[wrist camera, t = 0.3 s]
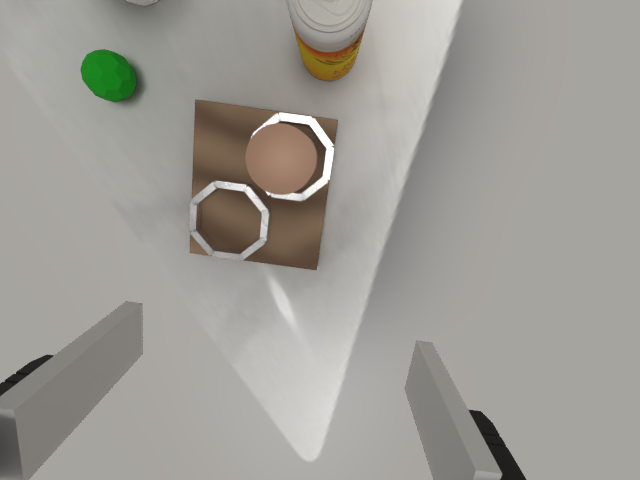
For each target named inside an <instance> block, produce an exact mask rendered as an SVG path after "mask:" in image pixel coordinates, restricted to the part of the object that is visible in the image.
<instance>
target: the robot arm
mask: <svg viewBox="0 0 640 480" xmlns="http://www.w3.org/2000/svg"><path fill="white" fill-rule="evenodd" d="M142 354H143V315H142V303H135V302H128V301H126V302H125V303H123V304H122V305H121V306H119V307H118V308H117V309H115V310H114V311H113V312H111V313H110V314H109V315H107V316H106V317H105V318H103V319H102V320H101V321H99V322H98V323H97V324H96V325H94V326H93V327H92V328H90V329H89V330H88V331H86V332H85V333H84V334H82V335H81V336H80V337H79V338H77V339H76V340H74V341H73V342H72V343H70V344H69V345H68V346H66V347H65V348H64V349H62V350H61V351H60V352H58V353H57V354H56V355H45V356H43V357H41V358H39V359H36V360H34V361H32V362H30V363H28V364H27V365H26V366H24V367H23V368H21V369H20V370H19V371H17V372H16V374H13V375H12V376H10V377H9V378H7V379H6V380H5V382H2V383H1V384H0V480H29V479H30V478H31V477H32V476H33V474H34V473H35V472H36V471H37V470H38V469H39V468H40V466H42V465H43V463H44V462H45V461H46V460H47V459H48V458H49V457H50V456H51V455H52V453H53V452H54V451H55V450H56V449H57V448H58V447H59V446H60V445H61V444H62V442H63V441H64V440H65V439H66V438H67V437H68V435H70V434H71V433H72V431H73V430H74V429H75V428H76V427H77V426H78V425H79V424H80V423H81V421H82V420H83V419H84V418H85V417H86V416H87V415H88V414H89V412H91V410H92V409H93V408H94V407H95V406H96V405H97V404H98V403H99V402H100V400H101V399H102V398H103V397H104V396H105V395H106V394H107V393H108V392H109V391H110V389H111V388H112V387H113V386H114V385H115V384H116V383H117V382H118V381H119V380H120V378H121V377H122V376H123V375H124V374H125V373H126V372H127V371H128V370H129V368H130V367H131V366H132V365H133V364H134V363H135V362H136V361H137V360H138V358H139V357H140V356H141V355H142ZM405 391H406V394H407V398H408V401H409V404H410V407H411V410H412V413H413V416H414V420H415V423H416V426H417V429H418V432H419V435H420V439H421V442H422V444H423V448H424V451H425V454H426V457H427V461H428V464H429V466H430V470H431V473H432V476H433V480H526V478H525V477H524V475H523V473H522V472H521V470H520V468H519V466H518V465H517V463H516V461H515V460H514V458H513V456H512V455H511V453H510V451H509V450H508V448H507V447H506V445H505V443H504V441H503V440H502V438H501V437H500V436H499V433H498V431H497V430H496V428H495V426H494V425H493V423H492V422H491V421H490V420H489V419H488V418H487V417H486V416H485V415H484V414H483V413H482V412H481V411H474V410H468V409H467V407H466V405H465V403H464V401H463V399H462V397H461V395H460V394H459V392H458V390H457V388H456V386H455V384H454V383H453V381H452V379H451V377H450V375H449V373H448V371H447V370H446V368H445V366H444V364H443V362H442V360H441V358H440V356H439V354H438V353H437V351H436V349H435V347H434V345H433V343H430V342H423V341H416V344H415V349H414V352H413V357H412V361H411V365H410V369H409V373H408V377H407V381H406V386H405Z"/></svg>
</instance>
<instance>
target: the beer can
mask: <svg viewBox="0 0 640 480" xmlns="http://www.w3.org/2000/svg"><path fill="white" fill-rule="evenodd" d="M371 4H372V0H287V6H288V10H289V13H290V17H291V21H292V24H293V28H294V31H295V35H296V38H297V42H298V46H299V49H300V53H301V56H302V60H303V63H304V65H305V67H306V68H307V70H308V71H309V72H310V73H311V74H312V75H313V76H315V77H316V78H319V79H321V80H326V81H331V80H336V79H339V78H341V77H343V76H344V75H345V74H347V73H348V72H349V71H350V69H351V68H352V66H353V64H354V62H355V60H356V56H357V53H358V49H359V46H360V43H361V39H362V36H363V33H364V29H365V26H366V22H367V19H368V16H369V12H370V9H371Z"/></svg>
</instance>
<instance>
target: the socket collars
mask: <svg viewBox="0 0 640 480" xmlns="http://www.w3.org/2000/svg"><path fill="white" fill-rule="evenodd" d="M281 122H289V123H296V124H303V125H310V126H311V128H312V129H313V130H314V132H315V133H316V135H317V136H318V137H319V139H320V140H321V141H322V143H323V144H324V146H325V147H326V148H327V149H326V157H325V164H324V171H323V177H321V178H320V179H319V180H317V181H316V182H315V183H313V184H312V185H311V186H310V187H308V188H307V189H306V190H304V191H303V192H302V193H301V192H293V193H290V194H285V195H277V194H272V193H269V192H267V191H265V192H266V193H267V194H268V195H271V197H274V198H281V199H289V200H296V201H302V199H303V200H305V199H307V198H308V197H309V196H310V195H312V194H313V193H314V192H316V191H317V190H318V189H320V188H321V187H322V186H324V185H325V184H326V183H328V180H330V173H331V166H332V159H333V152H334V148H332V146H333V144H332V143H331V141H330V140H329V138H328V137H327V136H326V134H325V133H324V131H323V130H322V129H321V127H320V126H319V124H318V123H317V122H316V120H315V119H312V117H309V116H302V115H295V114H288V113H281V112H279V114H278V113H276V114H275V115H274V116H273V117H271V118H270V119H269V120H268V121H267V122H265V123H264V124H263V125H262V126H261V127H259V128H258V129H257V130H256V131H255V132H253V133H252V134H253V135H254V134H255V133H256V132H257V131H258V130H260V129H261V128H263V127H265V126H267V125H270V124H275V123H281ZM251 138H252V136H251ZM219 188H223V189H230V190H237V191H244V192H245V193H246V194H247V195H248V197H249V198H250V199H251V200H252V201H253V203H254V204H255V205H256V206H257V208H258V209H259V210H260V211H261V213H262V219H261V230H260V238H259V239H258V240H256V241H255V242H254V243H252V244H251V245H250V246H248V247H247V248H246V249H244V250H243V251H240V250H233V249H225V248H218V247H217V246H216V245H215V244H214V243H213V242H212V240H211V239H210V238H209V237H208V236H207V235H206V233H205V232H204V231H203V230H202V229H201V205H202V202H203V201H204V200H205V199H206V198H208V197H209V196H210V195H211V194H212V193H214V192H215V191H216V190H217V189H219ZM191 200H192V201H191V202H190V217H189V231H192V232H191V233H190V234H191V235H192V236H193V237H194V239H195V240H196V241H197V242H198V243H199V244H200V245H201V247H202V248H203V249H204V250H205V251H206V252H207V253H208V255H209V256H210V255H211V254H212V257H216V258H223V259H230V260H237V261H241V260H244V259H245V258H247V257H248V256H249V255H251V254H252V253H253V252H255V251H256V250H257V249H259V248H260V247H261V246H263V245H264V244H265V243H266V242H267V240H268V237H269V227H270V217H271V210H269V209H270V207H269V206H268V205H267V203H266V202H265V201H264V200H263V198H262V197H261V196H260V195H259V193H258V192H257V191H256V190H255V188H254V187H253V186H252V185H250V186H249V183H242V182H235V181H228V180H221V179H220V180H216V181H213V182H212V183H211V184H209V185H208V186H207V187H206V188H205V189H203V190H202V191H201V192H200V193H199V194H197V195H196V196H195V197H194V198H192V199H191Z"/></svg>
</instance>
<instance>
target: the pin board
mask: <svg viewBox="0 0 640 480" xmlns="http://www.w3.org/2000/svg"><path fill="white" fill-rule="evenodd" d="M276 113H278V114H279V111H272V110H265V109H258V108H251V107H244V106H237V105H230V104H223V103H216V102H209V101H202V100H195V125H194V152H193V179H192V198H194V197H195V196H196V195H197V194H199V193H200V192H201V191H202V190H203V189H205V188H206V187H207V186H208V185H209V184H211V183H212V182H213V181H216V180H220V179H221V180H228V181H235V182H242V183H249V186H250V185H252V186H253V187H254V188H255V190H256V191H257V192H258V193H259V195H260V196H261V197H262V198H263V200H264V201H265V202H266V203H267V205H268V206H269V207H270V209H269V210H271V217H270V227H269V237H268V240H267V242H266V243H265V244H264V245H263V246H261V247H260V248H259V249H257V250H256V251H255V252H253V253H252V254H251V255H249V256H248V257H247V258H245V259H244V260H246V261H253V262H260V263H268V264H275V265H282V266H290V267H297V268H304V269H311V270H316V269H317V262H318V255H319V248H320V241H321V234H322V227H323V220H324V213H325V206H326V199H327V192H328V185H329V180H328V183H326V184H325V185H324V186H322V187H321V188H320V189H318V190H317V191H316V192H314V193H313V194H312V195H310V196H309V197H308V198H307V199H305V200H303V199H302V201H296V200H289V199H281V198H274V197H271V195H268V194H267V193H266V192H265V190H263V189H261V188H260V187H259V186H258V185H257V184H256V183H255V182H254V181H253V180H252V178H251V177H250V175H249V173H248V170H247V167H246V160H245V155H246V149H247V146H248V143H249V141H250V139H251V136H253V134H252V133H253V132H255V131H256V130H257V129H258V128H259V127H261V126H262V125H263V124H264V123H265V122H267V121H268V120H269V119H270V118H271V117H273V116H274V115H275V114H276ZM281 113H286V112H281ZM288 114H293V113H288ZM295 115H300V114H295ZM302 116H307V115H302ZM309 117H312V119H315V120H316V122H317V123H318V124H319V126H320V127H321V129H322V130H323V131H324V133H325V134H326V136H327V137H328V138H329V140H330V141H331V143H332V144H333V146H332V148H334V143H335V136H336V129H337V122H338V120H335V119H328V118H321V117H314V116H309ZM281 123H283V124H288V125H291V126H294V127H295V128H297V129H299V130H300V131H301V132H303V133H304V134H305V135H307V136H308V137H309V138H310V139H311V140H312V141H313V143H314V144H315V146H316V149H317V152H318V164H317V167H316V170H315V172H314V173H313V175H312V176H311V177H310V179H309V180H308V182H307V183H306V184H305V185H304V186H303V187H302V188H301V189H299V190H297V191H295V192H301V193H302V192H303V191H304V190H306V189H307V188H308V187H310V186H311V185H312V184H313V183H315V182H316V181H317V180H319V179H320V178H321V177H323V171H324V164H325V157H326V149H327V148H326V147H325V146H324V144H323V143H322V141H321V140H320V139H319V137H318V136H317V135H316V133H315V132H314V130H313V129H312V128H311V126H310V125H303V124H296V123H289V122H281ZM261 219H262V213H261V211H260V210H259V209H258V208H257V206H256V205H255V204H254V203H253V201H252V200H251V199H250V198H249V197H248V195H247V194H246V193H245V192H244V191H237V190H230V189H223V188H219V189H217V190H216V191H215V192H214V193H212V194H211V195H210V196H209V197H208V198H206V199H205V200H204V201H203V202H202V205H201V229H202V230H203V231H204V232H205V233H206V235H207V236H208V237H209V238H210V239H211V240H212V242H213V243H214V244H215V245H216V246H217V247H218V248H225V249H233V250H240V251H243V250H244V249H246V248H247V247H248V246H250V245H251V244H252V243H254V242H255V241H256V240H258V239H259V238H260V230H261ZM191 232H192V231H191ZM190 253H195V254H202V255H208V253H207V252H206V251H205V250H204V249H203V248H202V247H201V245H200V244H199V243H198V242H197V241H196V240H195V239H194V237H193V236H192V235H191V234H190ZM210 256H212V254H211V255H210Z"/></svg>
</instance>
